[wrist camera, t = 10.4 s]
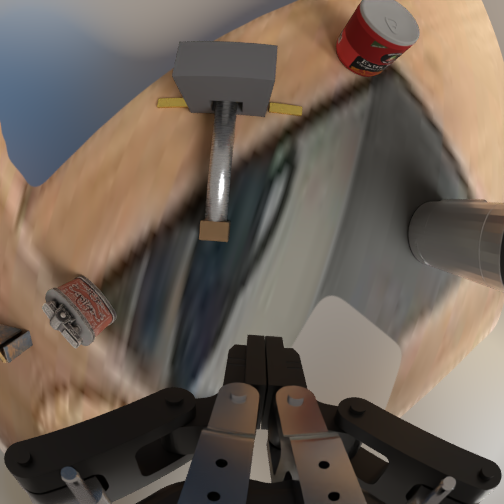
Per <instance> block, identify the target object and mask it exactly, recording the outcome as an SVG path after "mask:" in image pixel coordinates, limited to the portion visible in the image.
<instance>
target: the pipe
mask: <svg viewBox="0 0 504 504" xmlns="http://www.w3.org/2000/svg"><path fill="white" fill-rule="evenodd" d="M237 105H238V102H233V101H216V109H215V117H214V126H213V135H212V144H211V153H210V163H209V173H208V184H207V196H206V208H205V219H204V220H201V221H200V234H199V240H211V241H224V242H228V239H229V233H230V221H227V211H228V199H229V188H230V176H231V165H232V154H233V144H234V134H235V124H236V115H237ZM157 107H158V108H176V107H188V106H187V104H186V102H185V100H184V98H159V99H158V105H157ZM269 112H272V113H280V114H288V115H295V116H302V107H300V106H293V105H286V104H278V103H270V108H269Z"/></svg>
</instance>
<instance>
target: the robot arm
mask: <svg viewBox="0 0 504 504" xmlns="http://www.w3.org/2000/svg"><path fill="white" fill-rule="evenodd" d="M409 244H410V248H411V250H412V253H413V254H414V256H415V257H416V259H417V260H418V261H420V262H421V263H423V264H426V265H429V266H431V267H434V268H437V269H440V270H443V271H446V272H448V273H451V274H454V275H457V276H460V277H463V278H465V279H468V280H471V281H474V282H477V283H479V284H482V285H485V286H487V287H490V288H493V289H496V290H498V291H501V292H504V203H490V202H487V201H486V200H480V199H442V200H441V201H431V202H426V203H424V204H422V205H421V206H420V207H419V208H418V209H417V210H416V211H415V213H414V214H413V216H412V218H411V222H410V225H409ZM260 423H261V429H266V430H268V439H267V444H266V446H267V452H268V460H269V467H270V475H271V483H264V482H260V481H256V480H251V479H250V471H251V463H252V456H253V448H254V440H255V435H256V429H260ZM362 443H364V444H366V445H367V446H369V447H371V448H372V449H374V450H376V451H377V452H379V453H381V454H382V455H384V456H385V457H387V459H388V461H389V463H388V462H385V461H384V460H382V459H380V458H378V457H377V456H375V455H374V454H372V453H370V452H368V451H367V450H365V449H364V448H362V447H360V446H361V444H362ZM4 460H5V464H6V467H7V468H8V470H9V471H10V472H11V474H13V476H14V477H15V478H16V480H17V481H18V483H19V484H20V486H21V487H22V488H23V489H24V490H25V491H26V492H27V493H28V495H29V496H30V499H31V501H32V503H33V504H112V502H113V501H116V500H118V499H120V498H122V497H124V496H127V495H128V494H131V493H133V492H135V491H137V490H139V489H141V488H143V487H145V486H147V485H148V484H150V483H152V482H154V481H156V480H158V479H160V478H161V477H163V476H165V475H167V474H168V473H170V472H172V471H174V470H175V469H177V468H179V467H180V466H182V465H184V464H185V463H187V462H189V461H190V460H192V462H191V465H190V468H189V471H188V474H187V477H186V480H185V481H182V482H178V483H174V484H171V485H169V486H166V487H164V488H162V489H160V490H158V491H157V492H155V493H153V494H152V495H150V496H148V497H147V498H145V499H143V500H141V501H140V502H138V503H136V504H479V503H480V502H481V501H482V500H483V499H484V498H485V497H486V496H487V495H488V494H489V493H490V492H491V491H492V490H493V489H494V488H495V487H496V486H497V485H498V484H499V483H500V480H501V470H500V468H499V467H498V465H497V464H496V463H494V462H493V461H491V460H488V459H486V458H483V457H481V456H479V455H476V454H474V453H472V452H469V451H467V450H464V449H462V448H460V447H458V446H456V445H454V444H451V443H449V442H447V441H445V440H443V439H440V438H438V437H436V436H434V435H432V434H430V433H428V432H426V431H424V430H422V429H420V428H418V427H416V426H414V425H412V424H410V423H408V422H406V421H404V420H402V419H400V418H399V417H397V416H395V415H393V414H391V413H389V412H387V411H385V410H383V409H382V408H380V407H378V406H376V405H374V404H373V403H371V402H369V401H367V400H365V399H362V398H356V397H352V398H347V399H344V400H343V401H341V402H340V403H339V406H333V405H328V404H324V403H321V402H319V401H317V400H316V398H315V396H314V394H313V393H312V392H311V391H310V390H308V389H307V385H306V382H305V377H304V373H303V369H302V365H301V360H300V356H299V354H298V353H297V352H296V351H295V350H294V349H293V348H284V346H283V340H282V337H274V336H265V341H264V336H259V335H248V338H247V345H236V344H235V345H234V346H233V347H232V348H231V349H230V350H229V353H228V359H227V365H226V371H225V377H224V383H223V387H221V388H220V390H219V392H218V393H217V394H216V395H214V396H211V397H207V398H198V399H195V397H194V395H193V394H192V393H191V392H189V391H187V390H185V389H182V388H176V387H171V388H165V389H163V390H160V391H158V392H156V393H153V394H151V395H149V396H147V397H144V398H142V399H140V400H137V401H135V402H132V403H130V404H128V405H125V406H123V407H120V408H118V409H115V410H113V411H110V412H108V413H105V414H102V415H100V416H97V417H95V418H92V419H89V420H86V421H84V422H81V423H78V424H75V425H72V426H69V427H66V428H63V429H60V430H57V431H54V432H51V433H48V434H45V435H41V436H38V437H34V438H31V439H28V440H24V441H20V442H17V443H14V444H12V445H11V446H10V447H9V448H8V449H7V451H6V453H5V457H4Z"/></svg>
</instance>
